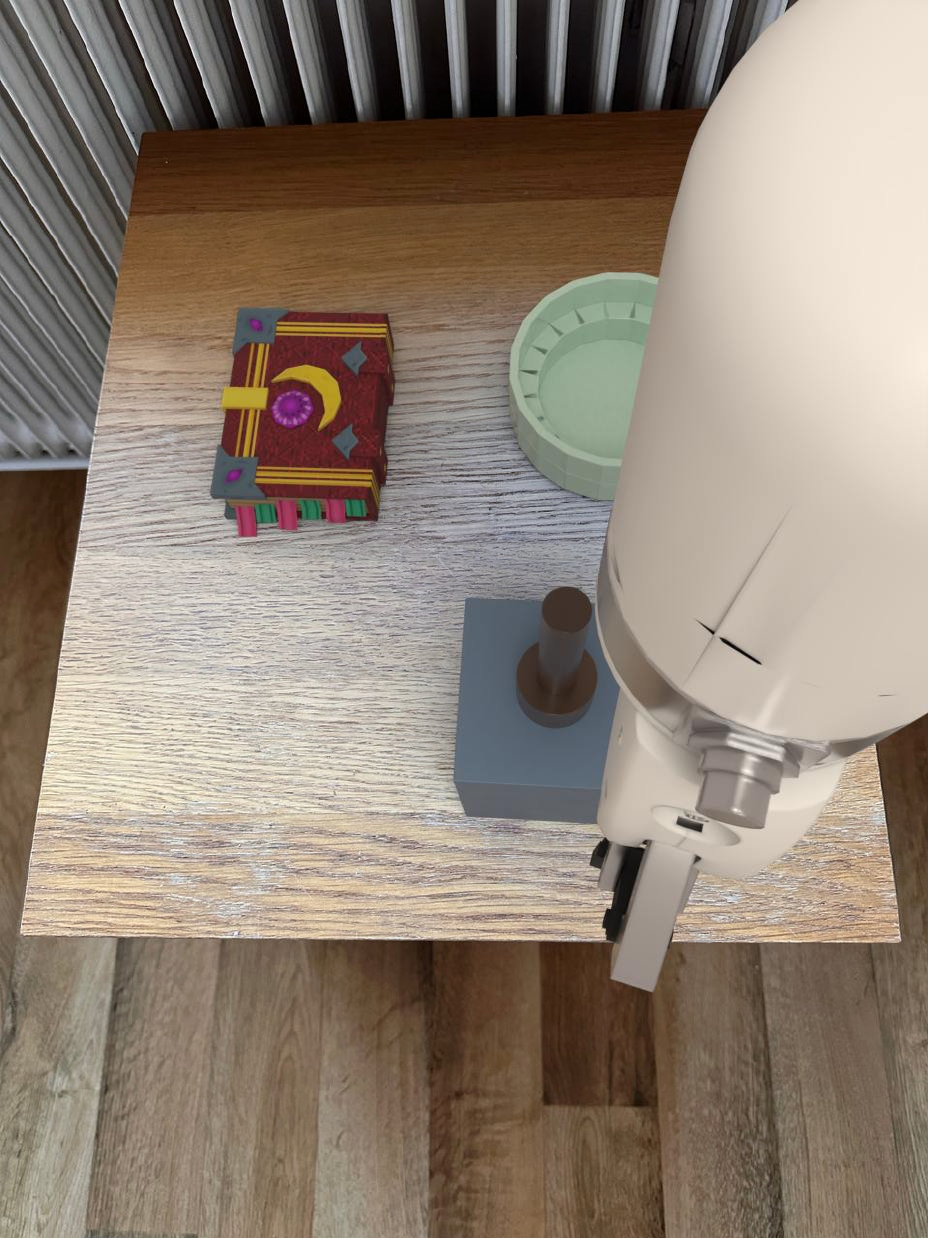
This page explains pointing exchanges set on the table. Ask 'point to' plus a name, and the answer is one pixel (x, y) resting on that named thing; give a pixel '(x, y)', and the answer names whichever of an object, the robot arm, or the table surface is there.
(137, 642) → the table surface
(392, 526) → the table surface
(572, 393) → the bowl
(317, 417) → the decorative book
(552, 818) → the stand
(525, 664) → the brown wooden handle
